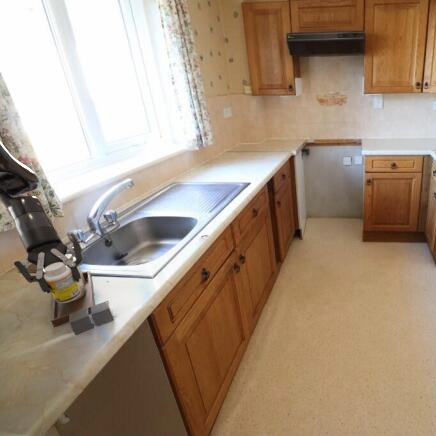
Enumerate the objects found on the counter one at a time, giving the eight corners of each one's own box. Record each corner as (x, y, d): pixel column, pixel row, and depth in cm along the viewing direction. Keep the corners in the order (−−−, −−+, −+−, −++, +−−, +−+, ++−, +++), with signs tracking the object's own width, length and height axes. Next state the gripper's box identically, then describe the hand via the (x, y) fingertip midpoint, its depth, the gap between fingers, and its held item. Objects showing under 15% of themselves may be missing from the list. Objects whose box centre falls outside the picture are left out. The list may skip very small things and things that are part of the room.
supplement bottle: (56, 296, 88) (40, 265, 84) (81, 288, 91) (67, 257, 87) (56, 307, 84) (39, 275, 79) (82, 298, 87) (67, 266, 82)
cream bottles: (62, 304, 92) (48, 275, 88) (63, 284, 101) (50, 257, 97) (86, 296, 95) (74, 267, 91) (85, 277, 104) (73, 250, 100)
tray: (54, 328, 84) (50, 321, 83) (57, 288, 100) (53, 281, 99) (96, 313, 89) (93, 306, 88) (92, 277, 105) (89, 270, 104)
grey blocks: (75, 335, 82) (69, 322, 80) (75, 326, 85) (69, 314, 83) (114, 320, 86) (109, 308, 85) (112, 312, 89) (108, 300, 87)
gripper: (-3, 236, 79) (25, 296, 77) (68, 217, 89) (94, 269, 86) (6, 248, 85) (31, 303, 82) (71, 229, 94) (96, 278, 92)
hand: (63, 286), depth 84 cm, fingers closed on supplement bottle, 5 cm apart
